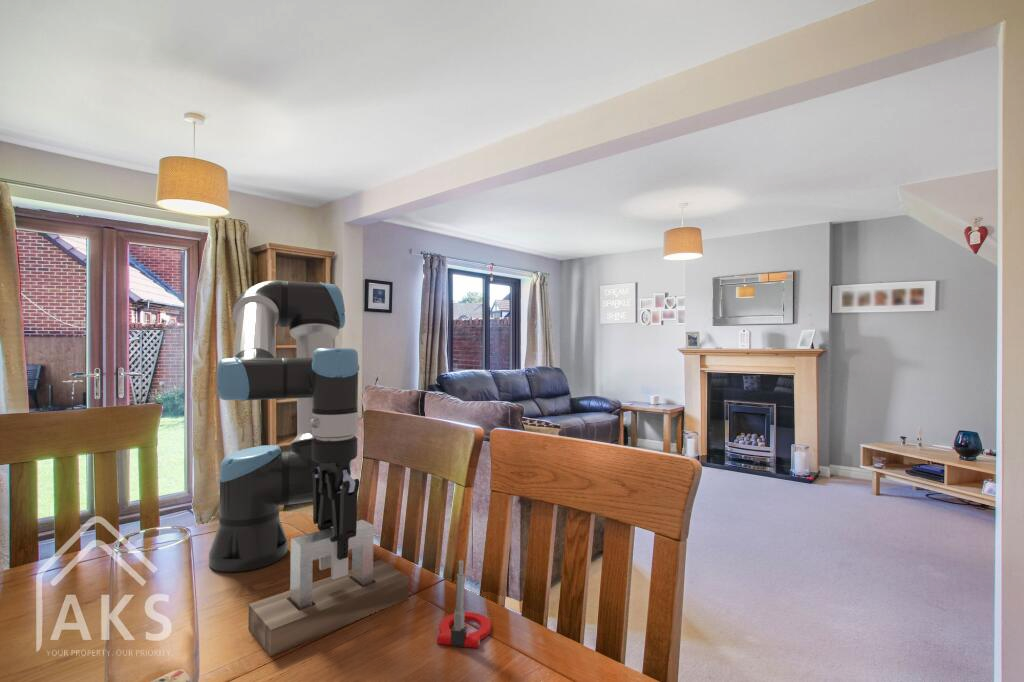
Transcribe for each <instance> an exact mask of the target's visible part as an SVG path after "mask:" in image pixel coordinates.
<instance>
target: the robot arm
mask: <svg viewBox="0 0 1024 682" xmlns="http://www.w3.org/2000/svg"><path fill="white" fill-rule="evenodd" d="M345 313H346V310H345V301H344V297H343V293H342V291H341V289H340V288H339V286H338V285H337V284H335V283H333V284H332V283H325V282H322V281H320V282H310V281H309V282H308V281H294V280H293V281H292V280H280V279H276V280H275V279H273V280H272V279H271V280H265V281H262V282H259V283H256V284H253V285H252V286H250V287H249V288H247V289H245V290H244V291H243V292H242V293H241V294H240V295H239V296H238V297H237V298H236V300H235V302H234V304H233V307H232V318H233V321H234V323H235V324H236V325H235V326H236V327H235V333H234V334H235V336H234V344H233V351H232V352H233V353H232V357H227V358H222V359H220V360H219V361H218V363H217V369H216V370H217V371H216V373H217V374H216V391H217V396H218V398H219V399H221V400H223V401H241V402H246V401H256V400H257V401H258V400H260V401H261V400H278V399H284V400H285V399H296V411H297V412H296V414H297V415H296V417H297V418H296V419H297V420H296V422H297V423H296V426H297V429H296V430H297V433H296V437H295V438H294V439H293V440H292V441H291V442H290V443H289V444H290V448H289V449H290V450H288V451H282V449H281V447H280V446H279V445H275V444H270V445H268V444H266V445H258V446H253V447H252V446H251V447H248V448H244V449H240V450H237V451H234V452H232V453H230V454H228V455H226V456H225V457H224V458H223V459H222V461H221V462H220V465H219V477H218V483H219V508H218V512H219V513H218V516H219V517H218V518H219V519H218V528H217V530H216V532H215V536H214V539H213V541H212V543H211V547H210V550H209V553H208V566H209V568H211V569H212V570H215V571H217V572H223V573H237V572H246V571H252V570H257V569H261V568H264V567H267V566H269V565H272V564H274V563H276V562H279V561H280V560H281V559H283V558H284V557H285V556H286V555H287V553H288V549H289V548H288V543H289V542H288V538H287V535H286V533H285V530H284V526H283V524H282V521H281V517H280V507H281V506H286V505H287V506H288V505H294V504H303V503H310V502H311V503H312V522H313V524H314V525H316V524H317V530H318V531H321V530H325V529H329V528H333V527H334V537H333V538H330V541H331V555H329V556H326V557H323V558H319V559H318V569H319V571H324V570H326V569H330V577H331V579H333V580H334V579H336V578H339V577H342V576H345V575H348V571H349V550H348V547H349V538H351V537H355V536H356V527H357V521H358V520H357V519H358V492H359V488H360V484H361V483H360V480H359V479H358V478H355V479H353V477H352V476H351V475H352V471H351V468H352V467H351V466H352V461H353V460H355V459H356V458H357V457H358V444H359V443H358V442H359V440H358V438H357V436H356V435H357V434H358V432H359V431H358V429H359V410H358V402H359V400H358V397H359V396H358V395H359V394H358V393H359V391H358V390H359V370H360V365H359V353H358V351H357V350H356V349H355V348H350V347H349V348H348V347H347V348H345V347H342V348H341V347H334V339H335V338H336V337H337V336H339V334H340V330H341V329H343V328H344V327H345V323H346V314H345ZM277 327H278V328H289V335H290V336H291V337H292V338H293V339H294V340H295V341H296V343H295V344H296V357H277V350H276V349H277V348H276V330H275V329H276V328H277Z"/></svg>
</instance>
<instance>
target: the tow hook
mask: <svg viewBox="0 0 1024 682" xmlns="http://www.w3.org/2000/svg"><path fill="white" fill-rule="evenodd" d="M457 564H458V565H457V567H458V568H457V574H456V582H455V583H456V586H455V588H456V591H455V610H454V611H453V612H454V613H452V614H448V615H447V616H445V617H444V618H443V619H442V620H441V621H440V623H439V632H438V634H437V639H436V640H437V641H436V642H437V643H436V644H438V645H447V646H451V647H458V648H474V649H479V648H480V645H481V641H482V640H483V639H485V638H486V637H488V635H489V634H490V632H491V630H492V622H491V621H490V619H489V617H487V616H485V615H483V614H481V613H478V612H474V611H465V610H464V600H465V599H464V597H465V573H464V560H461V559H460V560H458V563H457ZM465 621H472V622H475V623H477V624H479V626H481V627H480V628H479V629H477V630H476V631H473V632H469V633H468V634H467V629H468V627H467V626H465ZM452 624H453V626H452V628H450V626H451V625H452Z"/></svg>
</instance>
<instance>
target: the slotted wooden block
mask: <svg viewBox="0 0 1024 682" xmlns="http://www.w3.org/2000/svg"><path fill="white" fill-rule="evenodd" d="M406 599H407V600H409V576H407V575H406V574H404V573H403V572H401V571H399V570H397V569H396V568H394V567H392V566H391V565H390V564H388V563H386V562H384V561H383V560H381V559H379V560H376V561H373V584H370V585H368V586H365V587H361V586H360V585H359V584H357V583H356V582H355V581H353V580H352V569H348V575H345V576H342V577H339V578H336V579H334V580H333V579H331V576H329V577H326V578H323V579H320V580H319V579H318V580H317V581H314V582H313V581H312V606H311V607H308V608H306V609H303V610H300V611H299V610H298V609H297V608H296V607H295V606H294V605H293V604H292V603H290V589H289V590H287V591H284V592H282V593H278V594H275V595H272V596H269V597H267V598H263V599H260V600H257V601H254V602H250V603H248V624H247V625H248V627H247V628H248V630H249V632H250V633H251V635H253V637H254V638H255V639H256V641H257V642H258V643H259V644H260V646H261V647H262V648H263V649H264V650H265V652H266V653H267V655H268V656H269V657H273V656H276V655H277V654H280V653H283V652H284V651H287V650H290V649H292V648H294V647H297V646H299V645H302V644H304V643H306V642H309V641H311V640H313V639H317V638H319V637H321V636H323V635H326V634H328V633H330V632H332V631H335V630H337V629H339V628H343V627H344V626H348V625H350V624H352V623H354V622H356V620H357V621H359V620H361V618H362V619H364V618H367V617H369V616H371V615H373V614H376V613H378V612H380V610H381V611H383V610H385V609H388V608H389V607H393V606H395V605H397V604H400V603H402V602H404V601H406ZM401 601H402V602H401ZM399 602H400V603H399ZM392 605H393V606H392ZM382 609H383V610H382ZM375 612H376V613H375ZM370 614H371V615H370Z"/></svg>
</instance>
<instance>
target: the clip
mask: <svg viewBox="0 0 1024 682" xmlns="http://www.w3.org/2000/svg"><path fill="white" fill-rule="evenodd" d="M333 537H334V527H331V528H329V529H325V530H321V531H320V530H318V531H315V532H311V533H306V534H303V535H300V536H299V535H298V536H295V537H293V538H292V537H291V538H290V569H289V570H290V572H289V573H290V575H289V577H290V580H289V581H290V583H289V585H290V586H289V590H290V603H292V604H293V605H294V606H295V607H296V608H297V609H298V610H299V611H300V610H303V609H306V608H308V607H311V606H312V583H313V571H314V570H313V568H314V567H313V566H314V563H313V562H314V561H316V560H319V558H323V557H326V556H329V555H331V541H330V538H333ZM350 550H351V570H352V580H353V581H355V582H356V583H357V584H359V585H360V586H361V587H365V586H368V585H370V584H373V562H374V524H372V523H370V522H368V521H366V520H364V519H360V520H357V527H356V536H355V537H351V538H349V547H348V551H350Z"/></svg>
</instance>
